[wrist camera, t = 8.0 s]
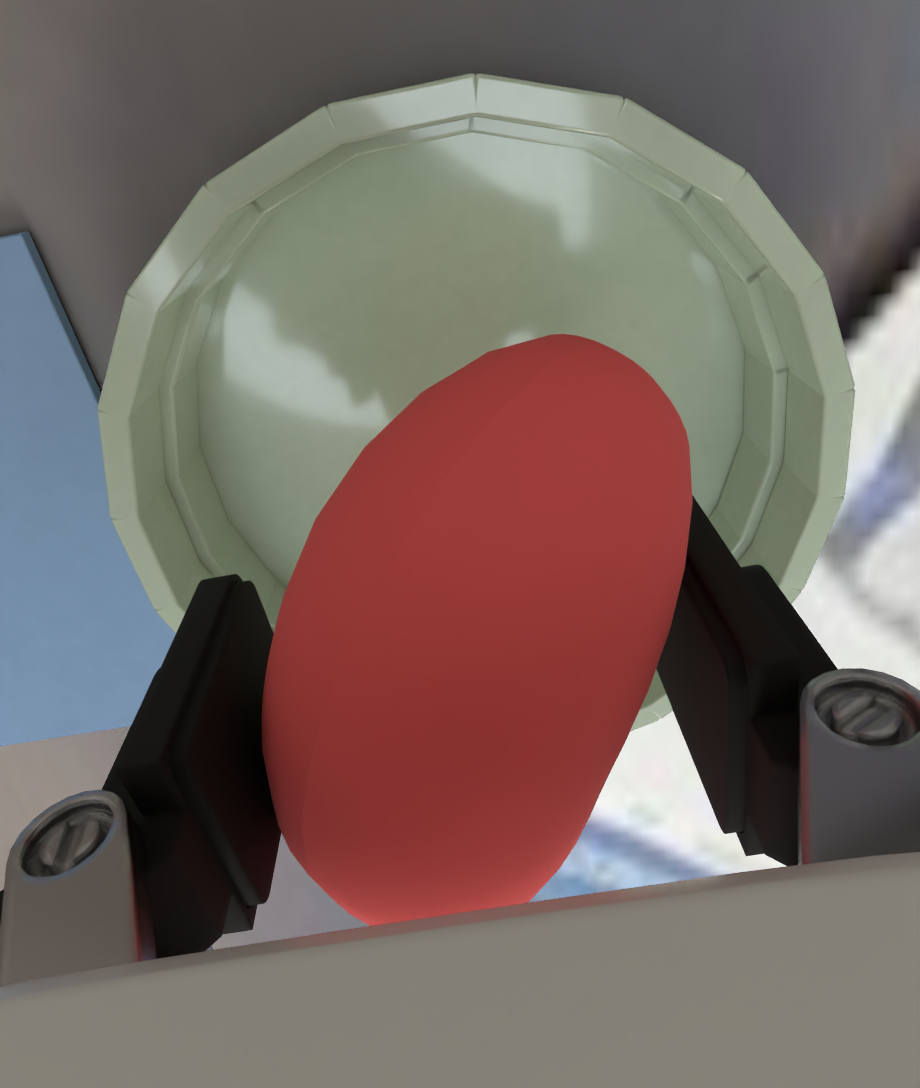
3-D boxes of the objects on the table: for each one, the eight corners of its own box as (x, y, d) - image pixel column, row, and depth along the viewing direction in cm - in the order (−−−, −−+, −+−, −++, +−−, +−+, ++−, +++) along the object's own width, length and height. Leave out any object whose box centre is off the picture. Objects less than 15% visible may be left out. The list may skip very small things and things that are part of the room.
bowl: (54, 164, 16) (-54, 184, 12) (789, 9, 15) (896, -18, 11) (274, 698, 23) (246, 801, 20) (765, 622, 22) (824, 717, 19)
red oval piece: (187, 631, 14) (220, 1012, 11) (330, 218, 8) (507, 860, 5) (432, 623, 17) (514, 931, 14) (692, 309, 10) (965, 759, 7)
